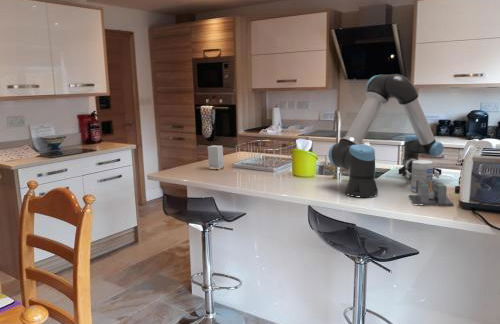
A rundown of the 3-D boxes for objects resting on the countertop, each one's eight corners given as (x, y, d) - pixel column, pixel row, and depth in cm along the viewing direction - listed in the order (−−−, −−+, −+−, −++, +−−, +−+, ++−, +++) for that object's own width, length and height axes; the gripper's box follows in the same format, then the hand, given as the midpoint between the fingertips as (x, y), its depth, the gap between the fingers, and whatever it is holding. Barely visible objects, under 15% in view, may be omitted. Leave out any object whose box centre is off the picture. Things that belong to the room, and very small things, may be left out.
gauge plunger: (415, 192, 188) (416, 176, 187) (435, 193, 187) (436, 176, 185) (419, 198, 179) (420, 181, 177) (441, 199, 177) (442, 181, 175)
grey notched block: (408, 197, 186) (409, 179, 185) (445, 198, 183) (446, 180, 182) (413, 205, 175) (414, 186, 173) (453, 206, 172) (454, 186, 170)
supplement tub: (430, 194, 190) (432, 164, 187) (409, 192, 195) (410, 162, 192) (432, 189, 198) (434, 160, 196) (412, 187, 203) (413, 159, 200)
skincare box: (224, 168, 267) (223, 145, 264) (218, 170, 261) (217, 147, 258) (214, 167, 271) (213, 144, 268) (208, 169, 266) (207, 146, 263)
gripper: (439, 173, 214) (450, 183, 193) (389, 173, 219) (395, 182, 198) (439, 159, 212) (451, 167, 192) (390, 159, 217) (396, 167, 197)
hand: (423, 175), depth 195 cm, fingers open, 13 cm apart
